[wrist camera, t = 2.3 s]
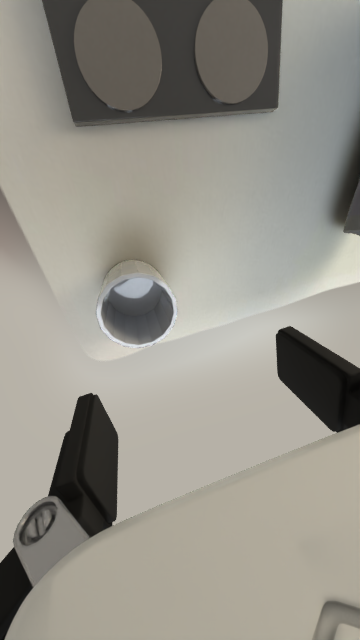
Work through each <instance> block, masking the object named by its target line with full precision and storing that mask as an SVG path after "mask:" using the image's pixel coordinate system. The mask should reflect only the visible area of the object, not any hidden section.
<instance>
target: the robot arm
mask: <svg viewBox="0 0 360 640" xmlns="http://www.w3.org/2000/svg"><path fill="white" fill-rule="evenodd" d="M276 347H277V348H276V350H277V370H278V376H279V378H280V380H281V381H282V382H283V383H284V384H285V385H286V386H287V387H288V388H289V389H290V390H291V391H292V392H293V393H294V394H295V395H296V396H297V397H298V398H299V399H300V400H301V401H302V402H303V403H304V404H305V405H306V406H307V407H308V408H309V409H310V410H311V411H312V412H313V413H314V414H315V415H316V416H318V418H319V419H320V420H321V421H322V422H323V423H324V424H325V425H326V426H327V427H328V428H329V429H330V430H332V431H336V432H337V433H336V434H333V435H331V436H328V437H326V438H324V439H321V440H318V441H316V442H313V443H311V444H308V445H306V446H303V447H301V448H298V449H296V450H293V451H291V452H288V453H286V454H283V455H281V456H278V457H276V458H273V459H271V460H268V461H266V462H263V463H261V464H258V465H256V466H254V467H251V468H249V469H246V470H244V471H241V472H239V473H236V474H234V475H231V476H229V477H227V478H224V479H222V480H219V481H217V482H214V483H212V484H210V485H207V486H205V487H202V488H200V489H197V490H195V491H192V492H190V493H188V494H185V495H183V496H180V497H178V498H175V499H173V500H171V501H168V502H166V503H164V504H161V505H159V506H156V507H154V508H152V509H149V510H147V511H145V512H142V513H140V514H138V515H136V516H133V517H131V518H129V519H126V520H124V521H122V522H120V523H118V524H116V525H114V526H112V522H113V521H115V520H116V517H117V471H118V435H117V432H116V430H115V428H114V426H113V424H112V422H111V420H110V418H109V416H108V414H107V413H106V411H105V409H104V407H103V405H102V403H101V401H100V399H99V397H98V395H93V394H92V393H90V394H86V395H84V396H80V397H79V398H78V400H77V404H76V409H75V412H74V416H73V420H72V424H71V428H70V431H68V432H67V433H66V434H65V436H64V440H63V443H62V447H61V451H60V455H59V458H58V462H57V465H56V469H55V473H54V476H53V480H52V484H51V487H50V491H49V495H48V497H45V498H43V499H41V500H39V501H38V502H36V503H35V504H34V505H33V506H32V507H31V508H29V510H28V511H27V512H26V513H25V514H24V515H23V517H22V519H21V520H20V522H19V524H18V525H17V528H16V531H15V533H14V539H13V543H14V548H13V549H12V550H11V551H10V552H9V553H8V555H7V556H6V557H5V558H4V559H3V560H2V562H1V563H0V640H360V368H358V367H356V366H355V365H353V364H352V363H350V362H348V361H347V360H345V359H343V358H342V357H340V356H339V355H337V354H335V353H334V352H332V351H330V350H329V349H327V348H325V347H324V346H322V345H320V344H319V343H317V342H316V341H314V340H312V339H311V338H309V337H308V336H306V335H304V334H303V333H301V332H299V331H298V330H296V329H294V328H293V327H291V326H289V327H286V328H283V329H280V330H279V331H278V333H277V334H276Z"/></svg>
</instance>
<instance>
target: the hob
mask: <svg viewBox="0 0 360 640" xmlns="http://www.w3.org/2000/svg"><path fill="white" fill-rule="evenodd" d="M42 2H43V6H44V10H45V14H46V18H47V21H48V25H49V29H50V33H51V37H52V41H53V45H54V49H55V52H56V56H57V60H58V64H59V68H60V72H61V76H62V80H63V84H64V87H65V91H66V95H67V99H68V103H69V107H70V111H71V115H72V119H73V122H74V124H75V126H76V127H78V126H91V125H105V124H118V123H131V122H144V121H158V120H171V119H184V118H198V117H211V116H224V115H237V114H251V113H264V112H273V111H274V110H276V109H277V108H278V99H279V74H280V49H281V25H282V0H42Z"/></svg>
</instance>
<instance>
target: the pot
mask: <svg viewBox="0 0 360 640" xmlns="http://www.w3.org/2000/svg"><path fill="white" fill-rule="evenodd" d="M177 313H178V310H177V303H176V297H175V296H174V294H173V293H172V291H171V289H170V288H169V286H168V285H167V283H166V282H165V281H164V279H163V278H162V276H161V275H160V274H159V272H158V271H157V270H156V269H155V268H154V267H152V266H151V265H150V264H148V263H146V262H143V261H140V260H127V261H123V262H120V263H119V264H117V265H115V266H114V267H113V268H111V270H110V271H109V272H108V274H107V276H106V277H105V279H104V282H103V285H102V288H101V291H100V294H99V297H98V302H97V309H96V316H97V319H98V322H99V326H100V328H101V330H102V331H103V332H104V333H105V334H106V335H107V336H108V338H109V339H110V340H112V341H114V342H116V343H118V344H120V345H122V346H124V347H132V348H142V347H146V346H151V345H154V344H156V343H157V342H159V341H160V340H162V339H163V338H165V337H166V336H167V335H168V333H169V332H170V331H171V329H172V328H173V327H174V324H175V321H176V317H177Z"/></svg>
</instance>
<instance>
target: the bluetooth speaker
mask: <svg viewBox="0 0 360 640" xmlns="http://www.w3.org/2000/svg"><path fill="white" fill-rule="evenodd" d="M343 232H344V233H353V234H357V235H359V236H360V175H359V182H358V185H357V188H356V191H355V194H354V197H353V200H352V203H351V206H350V209H349V212H348V215H347V219H346V223H345V227H344V231H343Z"/></svg>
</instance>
